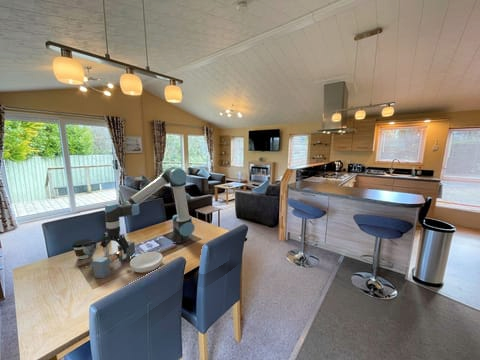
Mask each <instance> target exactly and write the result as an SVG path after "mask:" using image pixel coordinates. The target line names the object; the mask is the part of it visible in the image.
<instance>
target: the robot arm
mask: <svg viewBox="0 0 480 360" xmlns="http://www.w3.org/2000/svg"><path fill="white" fill-rule="evenodd" d="M187 178H188V175H187V172H186V171H185V170H184V169H182V168H180V167H175V166H171V167H169V168H167V169H166V170H164V171H163V172H162V173H160V174H159V176H158V177H157V178H156V179H154V180H153V181H152V182H150V183H149V184H148V185H146V186H145V187H143V188H141V190H139V191H138V192H136V193H135V194H134V195H132V196H130V197H129V198H127V199H125V200H123V201H122V203H121V205H119V203H118V202H112V203H107V204H106V205H104V215H105V216H104V217H105V228H106V232H104V233H103V236H102V240H101V242H100V244H99V245H100V247H102V248H103V249H102V250H103V252H104V257H108V256H110V252H109V243H110V242H112V241H113V242H116V243H117V244H118V246H119V245H120V246H121V248H122V259H125V258H126V253H127V248H129V245H128V243H127V241H128V240H127V239H126V236H125V234H124V233H122V234H121V233H120V232H121V224H120V223H121V222H120V218H124V217H131V216H137V215H139V214H140V204H142V202H144V201H145V200H146V199H148V198H149V197H151V196H152V195H153V194H155V193H156V192H157V191H159V190H160V189H161V188H162V187H164V186H166V185H170V188H172V191H173V195H174V196H173V197H174V203H175V209H176V214H174V215H173V216H172V236H171V240H172V241H173V242H176V243H182V244H185V243H184V242H186V241H188V240H189V241H190V235H192V234H193V233H194V231H195V224H194V223H193V220H192V219H193V218H192V216H191V215H190V213H189V206H188V200H187V194H186V188H185V187H186V185H187ZM189 241H188V242H189ZM186 243H187V242H186Z"/></svg>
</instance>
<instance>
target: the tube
mask: <svg viewBox="0 0 480 360" xmlns="http://www.w3.org/2000/svg"><path fill="white" fill-rule="evenodd" d="M121 256H122V250H120V251H119V252H118V251H117V252H114V253H113V254H112V255H111V256H110V257H108V258H109V262H110V264H112V263H113V262H114V261H115V262H116V260H119V257H121Z"/></svg>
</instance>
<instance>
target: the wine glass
mask: <svg viewBox="0 0 480 360" xmlns="http://www.w3.org/2000/svg"><path fill="white" fill-rule="evenodd" d="M82 247H83V251H84V253H85V254H86V255H88V256H89V257H90V262H88V263H87V264H88V265H87V264H86V265H87V266H88V267H90V268H93V260H94V259H93V257H94V255H95V254H96V252H98V251H97V250H98V241H96V240H95V241H94V240H91V242H87V243H85V244H83V245H82Z"/></svg>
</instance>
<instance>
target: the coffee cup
mask: <svg viewBox="0 0 480 360" xmlns="http://www.w3.org/2000/svg"><path fill="white" fill-rule="evenodd" d="M91 241H92V240H91V239H90V238H86V239H85V238H84V239H80V240H77V241H75V242H73V243H72V245H71V247H72V248H73V250H74V254H75V256H76V258H77V259H78V260H79V259H84V260H86V259H88V258H89V257H90V256H88V255H86V254H85V253H84V251H83V247H82V245H83V244H85V243H87V242H91ZM85 258H86V259H85Z"/></svg>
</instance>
